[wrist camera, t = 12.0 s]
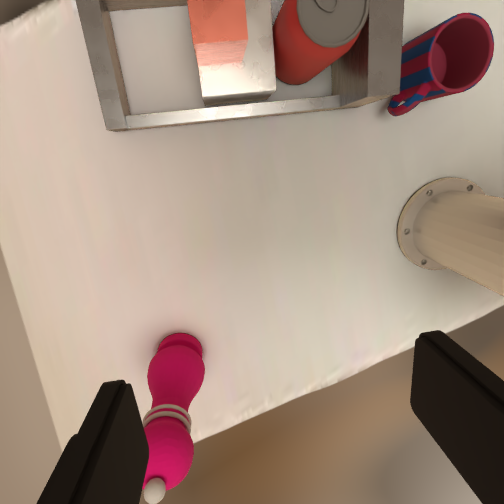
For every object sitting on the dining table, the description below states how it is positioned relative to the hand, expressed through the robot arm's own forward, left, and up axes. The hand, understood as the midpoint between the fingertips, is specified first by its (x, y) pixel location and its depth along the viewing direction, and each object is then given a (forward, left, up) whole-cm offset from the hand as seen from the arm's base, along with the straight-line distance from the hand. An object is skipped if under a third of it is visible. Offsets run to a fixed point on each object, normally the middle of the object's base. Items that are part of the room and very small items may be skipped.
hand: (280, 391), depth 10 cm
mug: (-22, -13, -31) cm, 40 cm away
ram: (-2, -17, -30) cm, 35 cm away
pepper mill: (+10, +19, -31) cm, 37 cm away
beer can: (-9, -17, -31) cm, 36 cm away
